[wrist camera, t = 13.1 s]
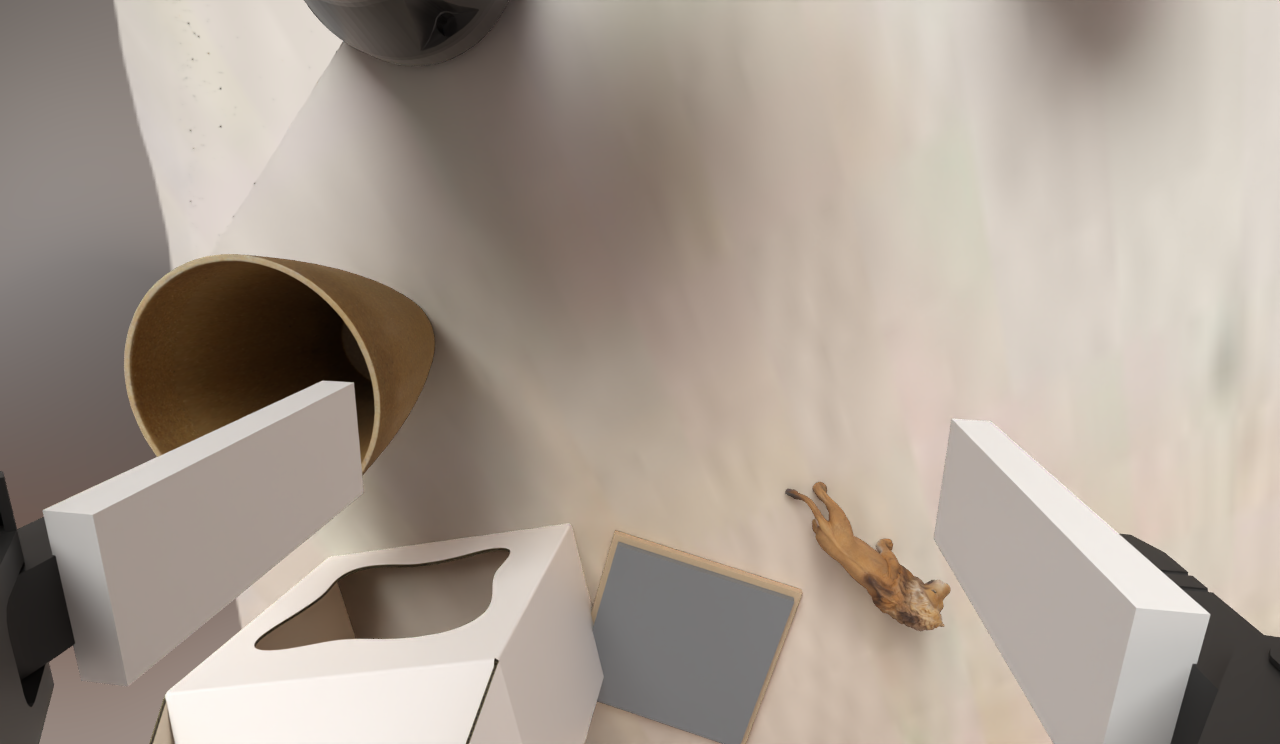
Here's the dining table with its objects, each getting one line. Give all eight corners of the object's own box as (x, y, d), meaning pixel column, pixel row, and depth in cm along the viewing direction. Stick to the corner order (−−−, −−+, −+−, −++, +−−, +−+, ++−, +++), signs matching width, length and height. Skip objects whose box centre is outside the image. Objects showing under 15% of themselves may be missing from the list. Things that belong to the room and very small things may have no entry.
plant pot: (295, 408, 54) (120, 484, 39) (311, 223, 51) (125, 226, 35) (470, 453, 53) (361, 550, 38) (499, 267, 50) (392, 290, 34)
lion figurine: (937, 553, 50) (970, 609, 43) (900, 596, 51) (927, 657, 44) (801, 466, 50) (812, 507, 43) (767, 511, 51) (772, 558, 44)
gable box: (371, 689, 60) (72, 1074, 33) (327, 554, 58) (-34, 852, 31) (611, 665, 56) (494, 1081, 29) (575, 520, 54) (411, 827, 27)
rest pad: (570, 686, 57) (566, 696, 56) (615, 530, 53) (612, 537, 52) (742, 744, 56) (742, 756, 54) (801, 589, 52) (802, 598, 51)
